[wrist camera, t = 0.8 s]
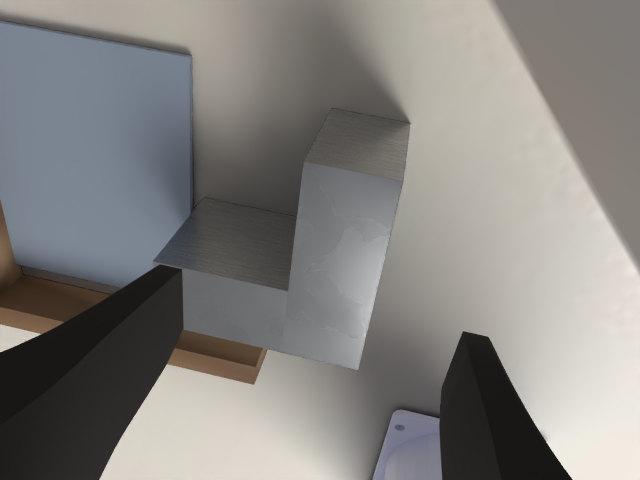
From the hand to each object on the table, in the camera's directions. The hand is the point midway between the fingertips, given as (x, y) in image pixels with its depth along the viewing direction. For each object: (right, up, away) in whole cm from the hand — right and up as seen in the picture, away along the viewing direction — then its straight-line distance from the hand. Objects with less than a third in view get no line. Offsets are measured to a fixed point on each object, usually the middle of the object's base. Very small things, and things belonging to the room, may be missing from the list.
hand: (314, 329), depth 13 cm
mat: (-10, +5, +10) cm, 15 cm away
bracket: (-1, +4, +9) cm, 10 cm away
